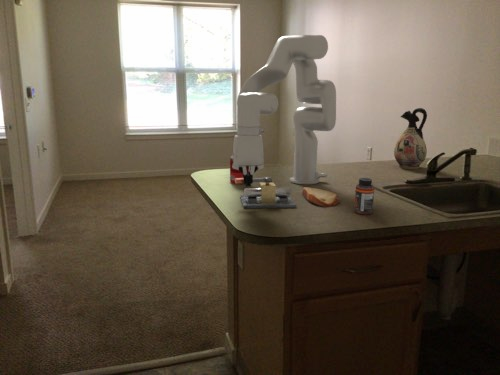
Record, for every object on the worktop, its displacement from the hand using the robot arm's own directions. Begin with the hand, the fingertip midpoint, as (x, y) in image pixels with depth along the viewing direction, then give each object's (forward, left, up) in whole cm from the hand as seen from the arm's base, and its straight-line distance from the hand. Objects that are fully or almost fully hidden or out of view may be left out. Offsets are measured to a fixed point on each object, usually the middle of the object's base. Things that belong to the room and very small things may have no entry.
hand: (248, 185), depth 151 cm
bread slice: (-27, -8, -8) cm, 29 cm away
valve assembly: (-7, -4, -7) cm, 11 cm away
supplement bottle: (-37, +10, -7) cm, 39 cm away
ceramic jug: (-89, -64, -7) cm, 110 cm away
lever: (-2, -3, +1) cm, 4 cm away
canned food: (0, -36, -7) cm, 37 cm away
